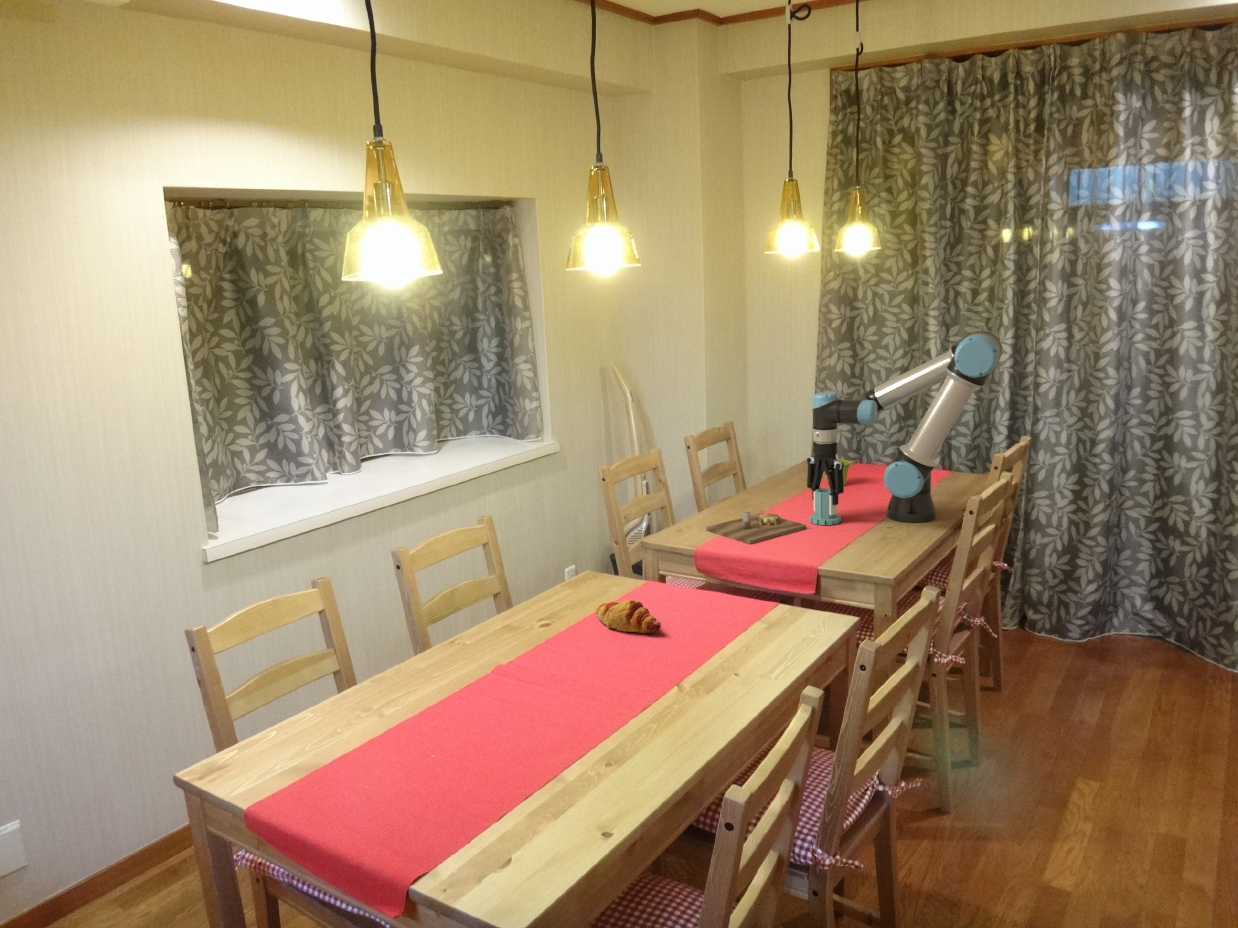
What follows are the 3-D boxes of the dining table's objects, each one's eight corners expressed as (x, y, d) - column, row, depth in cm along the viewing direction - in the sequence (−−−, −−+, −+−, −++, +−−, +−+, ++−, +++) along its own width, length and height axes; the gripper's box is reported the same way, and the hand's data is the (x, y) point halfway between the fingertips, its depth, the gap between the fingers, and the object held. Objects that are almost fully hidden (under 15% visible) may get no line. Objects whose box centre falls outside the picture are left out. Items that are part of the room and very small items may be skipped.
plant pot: (848, 481, 366) (848, 459, 364) (851, 487, 357) (852, 464, 355) (823, 482, 367) (823, 459, 365) (825, 488, 358) (825, 465, 356)
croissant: (589, 632, 243) (576, 609, 239) (613, 603, 248) (601, 581, 244) (653, 651, 228) (641, 627, 224) (677, 620, 234) (665, 597, 229)
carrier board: (806, 528, 309) (806, 509, 308) (749, 544, 296) (749, 524, 294) (761, 516, 325) (761, 498, 324) (706, 530, 311) (705, 511, 310)
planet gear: (846, 520, 315) (846, 490, 312) (826, 526, 309) (825, 496, 307) (824, 515, 322) (824, 485, 320) (803, 520, 317) (803, 490, 315)
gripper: (794, 439, 316) (795, 509, 321) (839, 447, 300) (839, 520, 305) (811, 436, 320) (811, 504, 325) (856, 443, 305) (856, 515, 310)
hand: (825, 512), depth 315 cm, fingers closed on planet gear, 6 cm apart
